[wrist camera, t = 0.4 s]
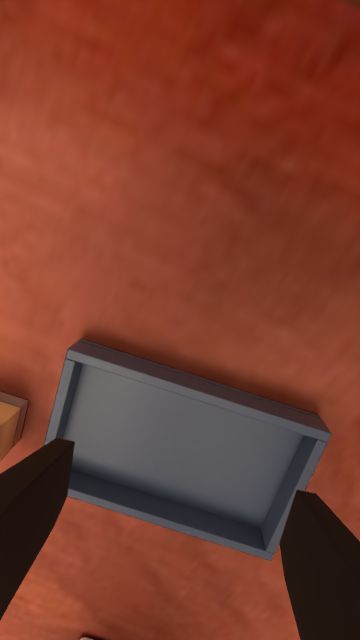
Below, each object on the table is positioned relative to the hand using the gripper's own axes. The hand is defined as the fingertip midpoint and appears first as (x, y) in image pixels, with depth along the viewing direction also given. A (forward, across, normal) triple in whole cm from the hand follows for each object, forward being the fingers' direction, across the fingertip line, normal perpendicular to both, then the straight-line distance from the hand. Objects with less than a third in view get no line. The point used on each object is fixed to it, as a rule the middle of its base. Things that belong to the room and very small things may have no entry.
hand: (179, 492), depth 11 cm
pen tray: (+10, 0, +5) cm, 11 cm away
